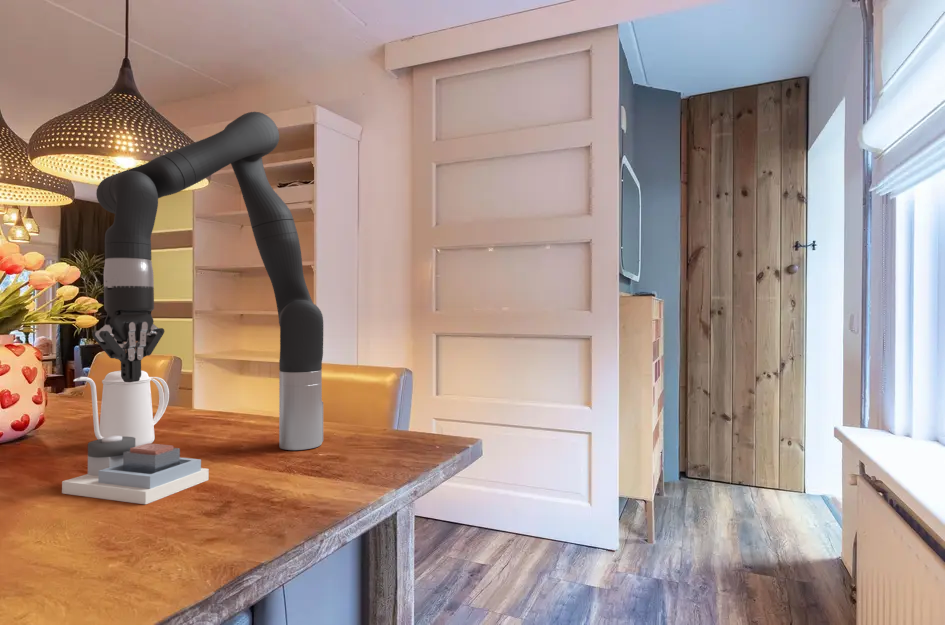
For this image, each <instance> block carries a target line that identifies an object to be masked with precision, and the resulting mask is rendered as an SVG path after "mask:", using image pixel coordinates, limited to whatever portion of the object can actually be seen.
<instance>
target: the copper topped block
mask: <svg viewBox="0 0 945 625" xmlns="http://www.w3.org/2000/svg"><path fill="white" fill-rule="evenodd" d="M180 455H181V448H178V447H174V445H171V444H158V443H148V444H144V445H140V446H136V447H133V448H130V451H126V452H123V471H126V472H135V473H144V474H153V473H156V472H159V471H162V470H165V469H168V468H171V467H174V466H177V465H180V457H181V456H180Z"/></svg>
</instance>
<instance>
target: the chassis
mask: <svg viewBox="0 0 945 625" xmlns="http://www.w3.org/2000/svg"><path fill="white" fill-rule="evenodd" d="M209 470H210V469H209V468H203V467H202V459H198V458H190V457H181V456H180V465H177V466H174V467H171V468H168V469H165V470H162V471H159V472H156V473H153V474H144V473H135V472H126V471H123V455H120V456H113V457H102V458H95V457H89V456H88V455H87V473H86V474H83V475H80V476H76V477H72V478H70V479H65V480H63V481H61V494H66V495H72V496H80V497H86V498H95V499H101V500H110V501H115V502H116V501H117V502H125V503H132V504H140V505H147V504H151V503H154V502H156V501H158V500H161V499H163V498H166V497H168V496H171V495H173V494H176V493H178V492H181V491H184V490H186V489H189V488H192V487H195V486H197V485H199V484H201V483H204V482H207V481H209V475H210V473H209Z"/></svg>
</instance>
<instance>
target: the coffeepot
mask: <svg viewBox="0 0 945 625" xmlns="http://www.w3.org/2000/svg"><path fill="white" fill-rule="evenodd" d="M151 381H152V382H153V383H154V384H155V386H156V388H157V390H158V397H159V398H158V400H159V402H158V406H157V411H156V413H155V414H153V404H152V403H153V402H152V390H151ZM73 382H87V383H89V385H90V392H91V406H92V418H93V419H92V421H93V430H94V431H93V432H94V435H95V438H96V440H98V439H102V438H104V437H109V436H122V437H134V438H135V447H136V446H140V445H144V444H148V443H151V444H153V442H154V441H155V428H154V426H155V425H156V424H157V423H158V422H159V421H160V419H162V417H163V415H164V413H165V412H166V409H167V407H168V404H169V399H170V389H169V386H168V383H167V382H166V381H165V379H163V378H161V377H159V376H149V373H148V372H147V371H146V370H141V377H140V380H139V381H135V382H124V381H123V379H122V377H121V370H115V371H111V372H108V373H107V374H106V375H105V377H104V379H102V380H101V384H103V385H102V396H101V406H100V415H99V413H98V412H99V411H98V395H97V385H96V383H95V381H94V380H93V378H90V377H88V376H79V377H77V378H74V379H73ZM161 384H162V385H161ZM153 415H154V416H153ZM99 416H100V417H99Z"/></svg>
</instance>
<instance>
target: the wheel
mask: <svg viewBox="0 0 945 625" xmlns="http://www.w3.org/2000/svg"><path fill="white" fill-rule="evenodd" d="M133 447H135V438H134V437H122V436H109V437H104V438H102V439H95V440H92V441H90V442H88V443H87V457H88V456H89V457H95V458H102V457H113V456H120V455H123V452H126V451H130V448H133Z"/></svg>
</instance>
